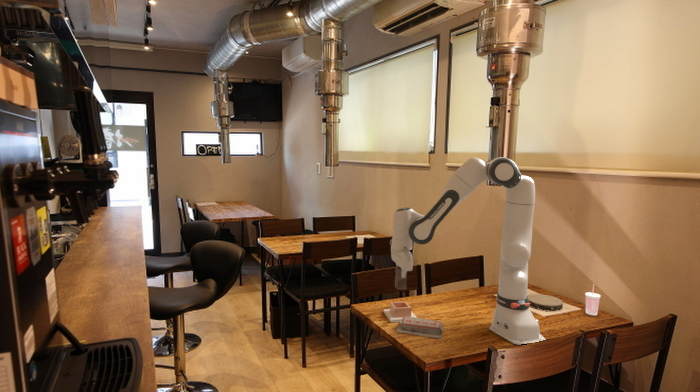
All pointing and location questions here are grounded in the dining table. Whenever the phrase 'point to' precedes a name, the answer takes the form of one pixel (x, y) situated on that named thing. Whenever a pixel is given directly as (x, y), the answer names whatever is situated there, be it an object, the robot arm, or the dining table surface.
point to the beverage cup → (592, 302)
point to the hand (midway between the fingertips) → (401, 275)
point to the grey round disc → (545, 302)
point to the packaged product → (421, 327)
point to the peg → (400, 279)
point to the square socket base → (398, 311)
